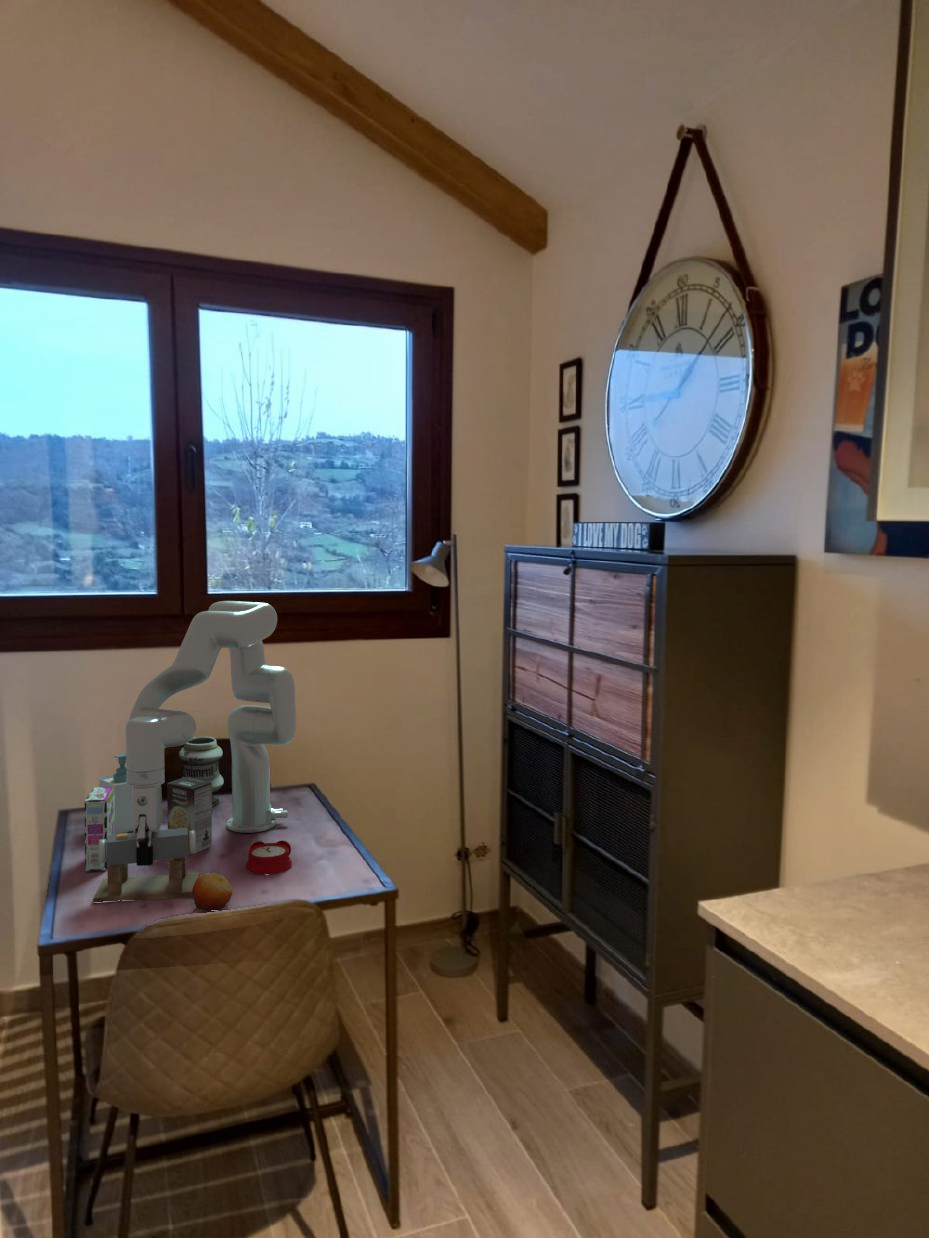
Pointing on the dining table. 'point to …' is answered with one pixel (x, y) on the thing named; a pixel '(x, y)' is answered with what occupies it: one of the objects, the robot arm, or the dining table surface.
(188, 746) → the apothecary jar
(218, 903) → the fruit
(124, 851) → the power strip
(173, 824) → the coffee box
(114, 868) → the rack
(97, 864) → the candy bar box
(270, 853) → the alarm clock
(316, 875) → the dining table surface
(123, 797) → the soap bottle
